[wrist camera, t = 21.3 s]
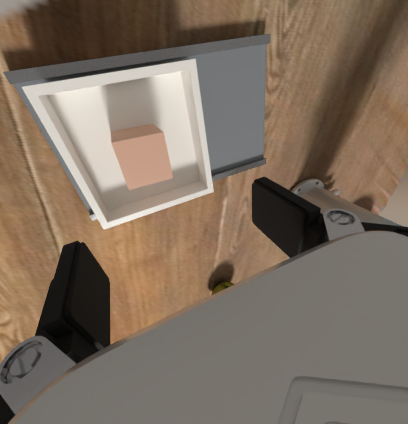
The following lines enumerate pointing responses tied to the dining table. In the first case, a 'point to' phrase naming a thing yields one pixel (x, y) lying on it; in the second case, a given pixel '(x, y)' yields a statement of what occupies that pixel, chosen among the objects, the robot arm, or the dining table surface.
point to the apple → (222, 287)
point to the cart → (122, 119)
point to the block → (142, 155)
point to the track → (209, 90)
